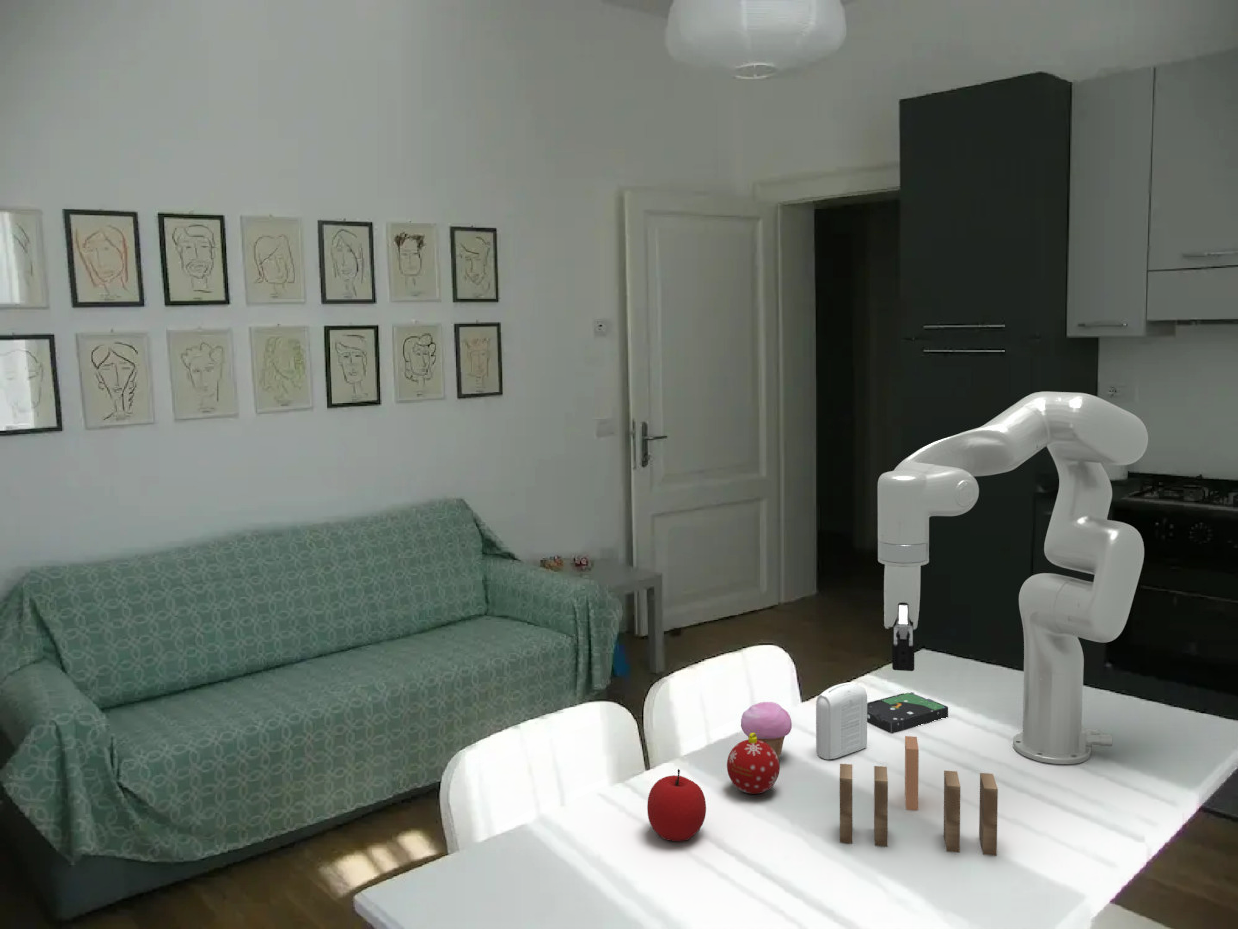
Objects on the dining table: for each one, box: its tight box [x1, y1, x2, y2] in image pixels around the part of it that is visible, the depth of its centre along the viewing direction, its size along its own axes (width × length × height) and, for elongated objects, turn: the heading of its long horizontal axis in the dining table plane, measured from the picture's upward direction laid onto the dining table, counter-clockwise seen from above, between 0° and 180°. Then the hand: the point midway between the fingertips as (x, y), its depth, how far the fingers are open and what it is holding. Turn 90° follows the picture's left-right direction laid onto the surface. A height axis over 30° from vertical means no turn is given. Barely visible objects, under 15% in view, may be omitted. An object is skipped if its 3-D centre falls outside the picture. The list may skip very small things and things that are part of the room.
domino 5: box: [978, 772, 999, 856], centre depth 143 cm, size 2×5×10 cm, turn 167°
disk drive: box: [867, 692, 949, 735], centre depth 192 cm, size 10×3×15 cm
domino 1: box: [839, 763, 853, 844], centre depth 148 cm, size 2×5×10 cm, turn 167°
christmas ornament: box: [726, 733, 780, 795], centre depth 163 cm, size 9×9×10 cm
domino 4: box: [943, 770, 961, 853], centre depth 144 cm, size 2×5×10 cm, turn 167°
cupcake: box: [740, 701, 793, 760], centre depth 175 cm, size 9×9×10 cm
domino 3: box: [904, 735, 920, 811], centre depth 157 cm, size 2×5×10 cm, turn 167°
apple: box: [646, 768, 707, 842], centre depth 150 cm, size 9×9×10 cm
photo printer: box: [815, 682, 868, 761], centre depth 177 cm, size 10×4×12 cm, turn 123°
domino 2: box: [873, 765, 889, 847], centre depth 146 cm, size 2×5×10 cm, turn 167°
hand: (903, 659), depth 154 cm, fingers open, 9 cm apart
